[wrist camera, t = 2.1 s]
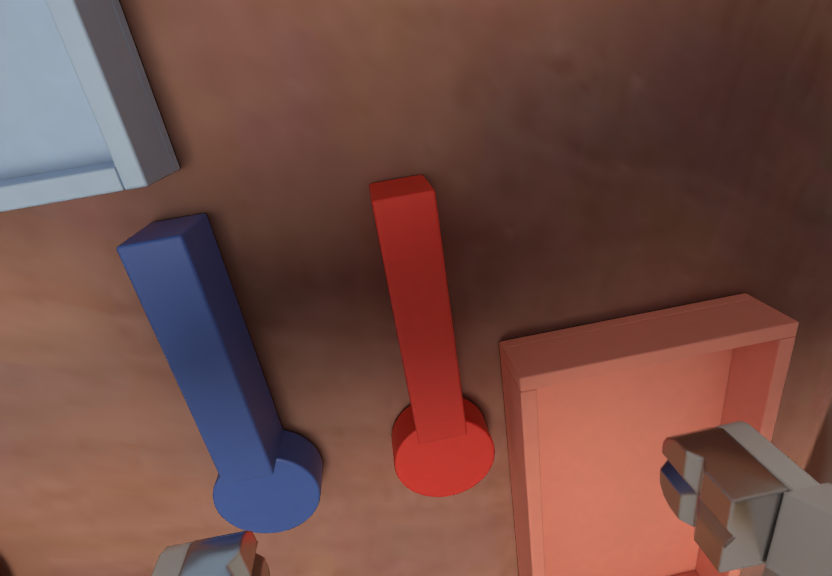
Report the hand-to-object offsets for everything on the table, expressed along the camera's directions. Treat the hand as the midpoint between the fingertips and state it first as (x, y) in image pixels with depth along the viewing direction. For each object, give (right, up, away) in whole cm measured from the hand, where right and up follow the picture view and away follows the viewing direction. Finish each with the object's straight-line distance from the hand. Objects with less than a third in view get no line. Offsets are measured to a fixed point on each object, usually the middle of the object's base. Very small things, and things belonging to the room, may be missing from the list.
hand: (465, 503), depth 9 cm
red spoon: (-1, +2, +9) cm, 9 cm away
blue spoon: (-8, +1, +8) cm, 11 cm away
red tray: (+9, -5, +13) cm, 16 cm away
